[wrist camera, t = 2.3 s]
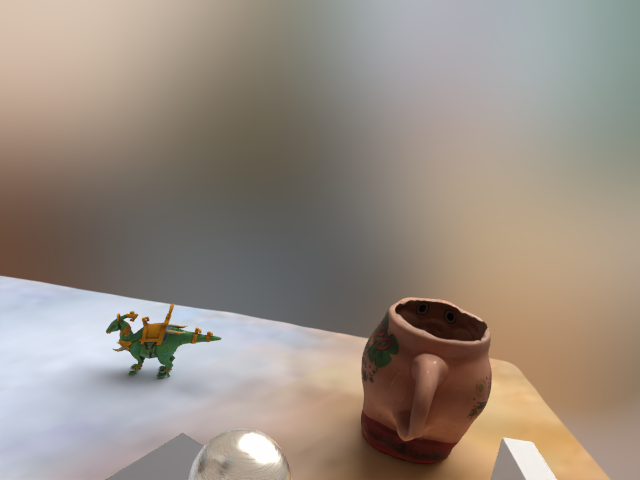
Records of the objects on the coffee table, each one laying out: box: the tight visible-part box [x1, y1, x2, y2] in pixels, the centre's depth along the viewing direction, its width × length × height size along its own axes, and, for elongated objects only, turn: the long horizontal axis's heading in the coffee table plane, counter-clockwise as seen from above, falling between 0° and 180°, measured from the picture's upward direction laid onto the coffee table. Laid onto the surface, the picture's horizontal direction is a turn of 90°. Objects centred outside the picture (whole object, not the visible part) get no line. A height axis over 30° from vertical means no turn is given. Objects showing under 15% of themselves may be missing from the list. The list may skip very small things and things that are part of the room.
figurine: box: [106, 304, 221, 379], centre depth 56 cm, size 3×12×8 cm, turn 99°
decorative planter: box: [361, 298, 492, 463], centre depth 50 cm, size 20×12×14 cm, turn 171°
